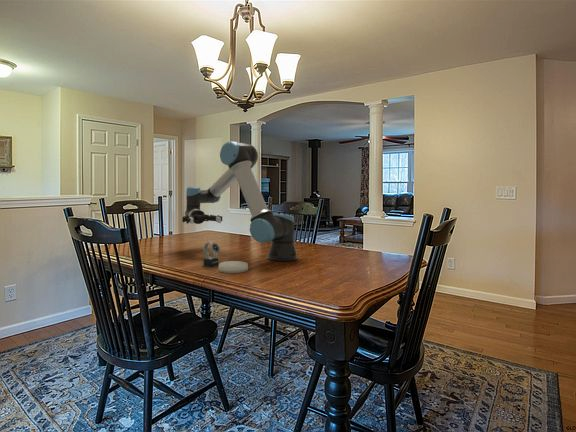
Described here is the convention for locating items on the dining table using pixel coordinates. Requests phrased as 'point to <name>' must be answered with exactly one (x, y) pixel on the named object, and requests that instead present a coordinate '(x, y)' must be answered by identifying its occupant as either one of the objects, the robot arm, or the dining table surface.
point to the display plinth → (233, 267)
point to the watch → (210, 260)
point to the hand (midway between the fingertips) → (206, 220)
